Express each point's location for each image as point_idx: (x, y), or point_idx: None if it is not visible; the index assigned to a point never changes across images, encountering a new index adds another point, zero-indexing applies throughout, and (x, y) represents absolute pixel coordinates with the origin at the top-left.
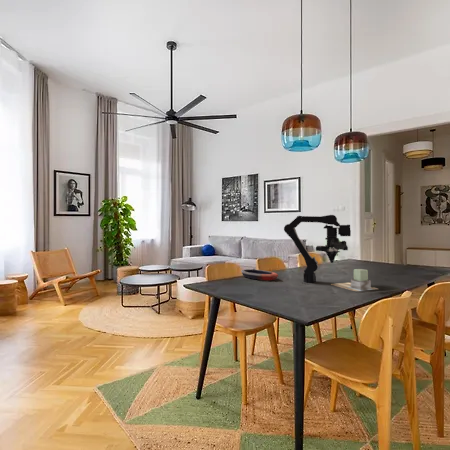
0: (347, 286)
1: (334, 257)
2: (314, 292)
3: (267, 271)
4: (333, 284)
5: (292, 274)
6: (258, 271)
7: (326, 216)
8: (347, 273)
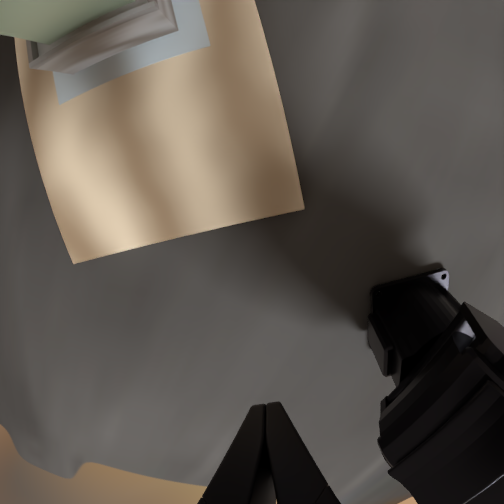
0: (185, 77)
1: (220, 493)
2: (498, 28)
3: None
4: (278, 186)
5: None
6: None
7: None
8: (71, 467)
